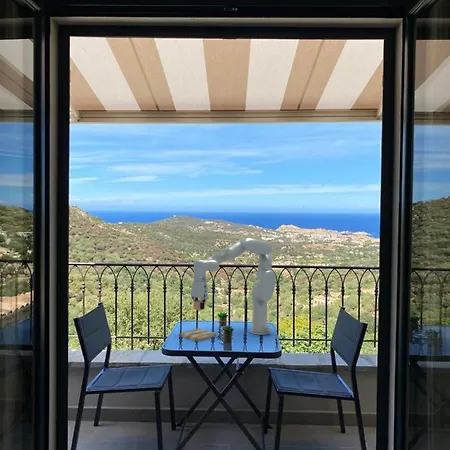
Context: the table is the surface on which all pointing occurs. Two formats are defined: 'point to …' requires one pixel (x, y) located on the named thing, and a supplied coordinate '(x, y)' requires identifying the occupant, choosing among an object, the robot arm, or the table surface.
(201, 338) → the oak board
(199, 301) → the cube
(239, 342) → the table surface
